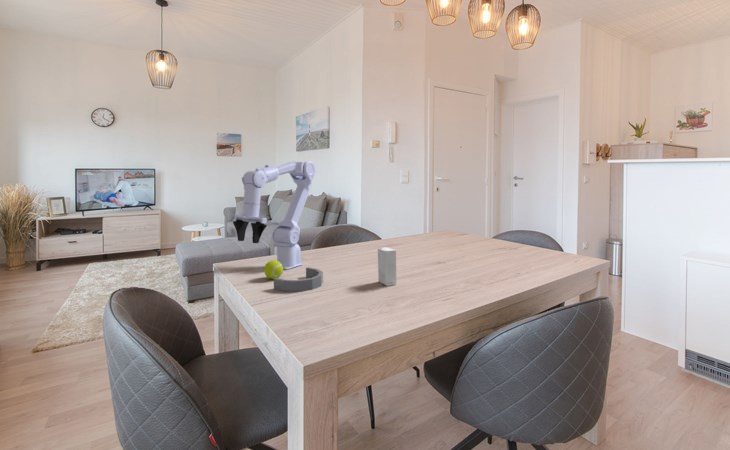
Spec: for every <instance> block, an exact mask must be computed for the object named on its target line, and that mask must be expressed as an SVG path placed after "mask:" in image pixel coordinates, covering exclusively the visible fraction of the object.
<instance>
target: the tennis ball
mask: <svg viewBox="0 0 730 450" xmlns="http://www.w3.org/2000/svg"><path fill="white" fill-rule="evenodd" d="M283 272H284V269H283V266H282V264H281V263H280V262H279V261H277V259H274V260H269V261H267V262H266V263H265V265H264V268H263V273H264V275H265V276H266V277H267V278H269V279H270V280H274V278H279V279H280V277H282V275H283Z"/></svg>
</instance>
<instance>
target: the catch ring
mask: <svg viewBox="0 0 730 450" xmlns="http://www.w3.org/2000/svg"><path fill="white" fill-rule="evenodd" d="M305 277H306V278H303V279H284V278H280V277H279V278H274V279H273V290H276V291H280V292H297V293H299V292H306V291H312V290H314V289H317V288H319V287H322V286H323V283H324V271H322V270H321V269H319V268H315V267H310V266H307V267H305Z"/></svg>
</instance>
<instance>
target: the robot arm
mask: <svg viewBox="0 0 730 450" xmlns="http://www.w3.org/2000/svg"><path fill="white" fill-rule="evenodd" d="M286 174H289V176H290V177H291V178H292V181H293V182H294V183H295V185H296V189H295V191H294V194H293V196H292V198H291V201H290V203H289V206H288V209H287V212H286V214H285V216H284V219H283V220H281V221H280V222H279V223H277V226H276V227H275V229H273V230H272V231H273V232H272V234H271V236H272V237H271V238H272V241H273V242H274V243H275V245H276V261H279V262H280V263H281V264H282V266H283V270H290V269H293V268H296V267H299V266H303V263H302V257H301V256H302V252H301V251H302V250H301V246H300V245H299V244H298V242H299V240H300V233H301V228H300V227H299V225H298V223H299V220H300V218H301V215H302V213H303V210H304V207H305V204H306V201H307V199H308V196H309V194H310V191H311V188H312V185H313V184H312V183H313V180H314V177H315V174H316V167H315V165H314V163H313V162H312V161H310V160H307V161H295V160H292V161H287V162H286V163H283V164H280V165H278V166H274V165H271V164H265V165H264V167H256V168H255V170H248V171H246V172H245V173H244V174H243V176H242V177H241V183H242V184H243V189H244V190H243V192H244V193H243V205H242V214H234V220H233V222H232V223H233V225H234V227H235V228H234V229H235V231H236V237H237V241H238V242H244V241H245V237H246V232H247V231H246V230H247V228H248V226H249V224H250V225H251V229H252V237H251V238H252V244H259V242H260V239H261V237H262V234H263V233H264V231H265V229H266V228H267V217H260V209H261V208H260V207H261V197H262V188H263V187H264V186H265V185H266V184H268V183H271V182H274V181H276V180H277V179H278V178H279V177H280V176H282V175H286Z"/></svg>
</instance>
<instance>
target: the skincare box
mask: <svg viewBox="0 0 730 450" xmlns="http://www.w3.org/2000/svg"><path fill="white" fill-rule="evenodd" d="M377 271H378V275H377V276H378V277H377V278H378V279H377V280H378V282H380V283H381V284H382V285H385V286H388V287H389V286H396V285H397V250H396V249H393V248H391V247H389V246H387V247H380V248H379V247H378V248H377Z"/></svg>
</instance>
